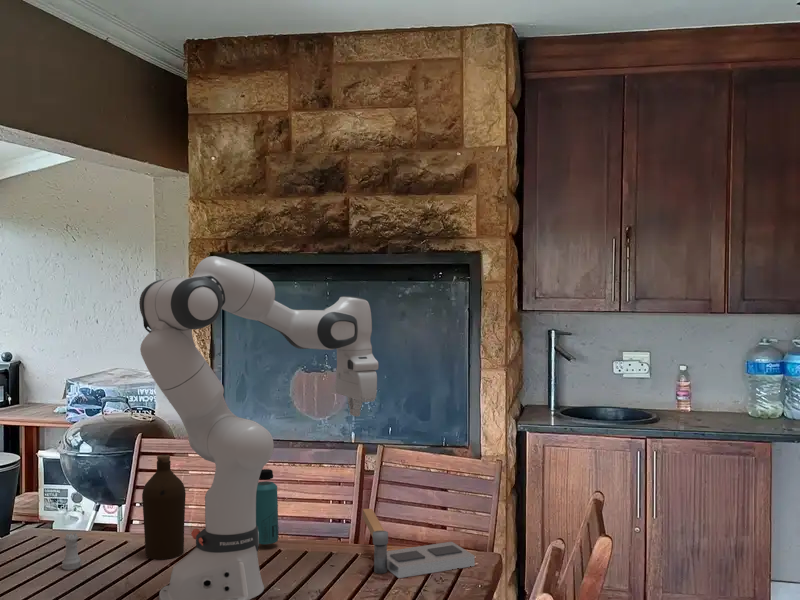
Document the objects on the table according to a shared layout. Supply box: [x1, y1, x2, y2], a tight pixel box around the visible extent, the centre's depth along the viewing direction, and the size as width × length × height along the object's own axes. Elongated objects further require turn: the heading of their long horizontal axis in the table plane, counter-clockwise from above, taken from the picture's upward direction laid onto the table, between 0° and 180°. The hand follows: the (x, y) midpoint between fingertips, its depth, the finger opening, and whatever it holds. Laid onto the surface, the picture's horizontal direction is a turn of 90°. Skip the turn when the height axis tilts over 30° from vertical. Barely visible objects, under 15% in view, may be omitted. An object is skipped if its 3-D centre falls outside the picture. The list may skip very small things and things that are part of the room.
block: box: [373, 541, 475, 579], centre depth 198 cm, size 24×12×6 cm, turn 114°
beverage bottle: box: [256, 468, 280, 545], centre depth 214 cm, size 6×7×20 cm
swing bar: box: [362, 508, 389, 545], centre depth 204 cm, size 23×4×2 cm, turn 11°
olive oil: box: [141, 454, 186, 561], centre depth 208 cm, size 11×11×25 cm
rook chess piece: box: [61, 532, 82, 571], centre depth 199 cm, size 4×4×8 cm
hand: (355, 415), depth 206 cm, fingers closed
